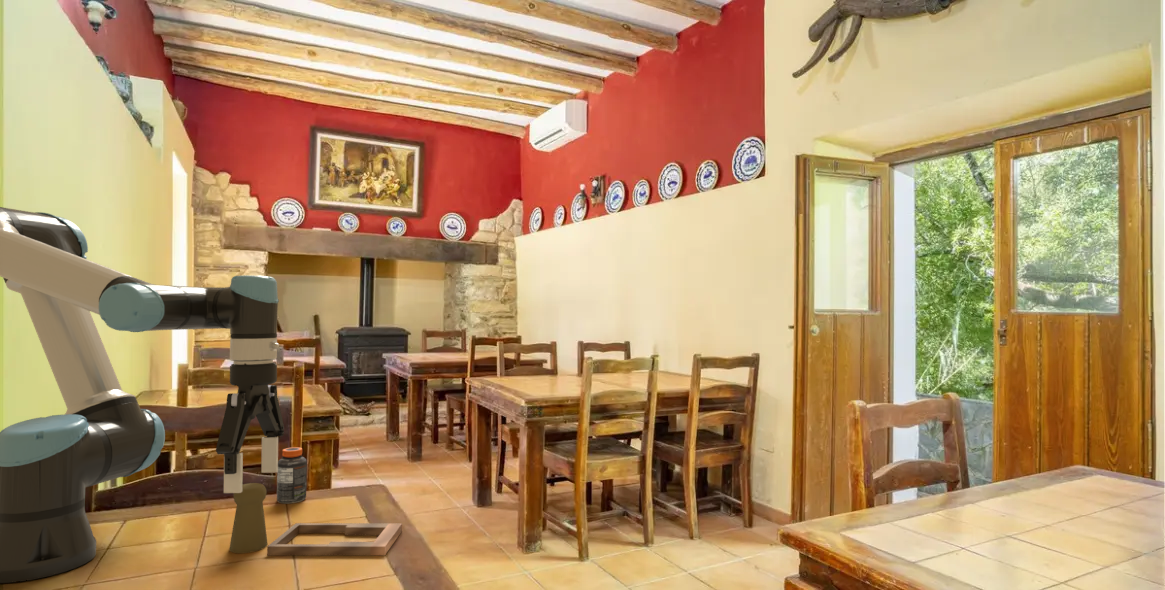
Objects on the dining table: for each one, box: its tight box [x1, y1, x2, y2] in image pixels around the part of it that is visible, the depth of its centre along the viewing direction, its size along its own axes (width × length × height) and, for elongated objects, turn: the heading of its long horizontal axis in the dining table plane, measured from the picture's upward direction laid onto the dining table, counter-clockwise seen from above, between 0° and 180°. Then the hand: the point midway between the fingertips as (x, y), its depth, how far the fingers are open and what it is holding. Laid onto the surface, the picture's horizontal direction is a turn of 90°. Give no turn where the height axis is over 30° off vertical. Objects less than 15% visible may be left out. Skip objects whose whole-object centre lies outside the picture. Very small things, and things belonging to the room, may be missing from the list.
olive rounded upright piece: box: [229, 482, 268, 554], centre depth 114 cm, size 6×6×11 cm
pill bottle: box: [276, 446, 308, 504], centre depth 142 cm, size 6×6×11 cm
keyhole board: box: [266, 522, 403, 556], centre depth 116 cm, size 20×12×2 cm, turn 92°
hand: (252, 481), depth 114 cm, fingers open, 13 cm apart
